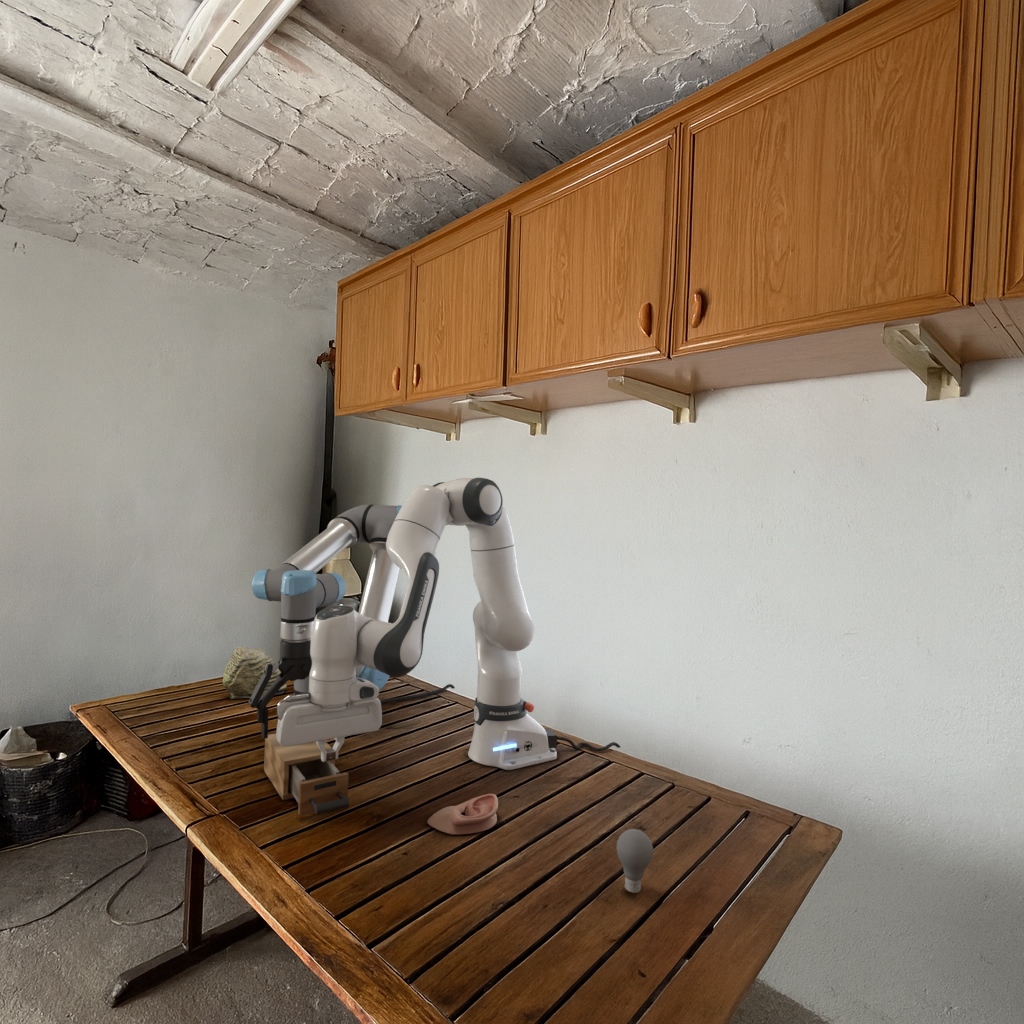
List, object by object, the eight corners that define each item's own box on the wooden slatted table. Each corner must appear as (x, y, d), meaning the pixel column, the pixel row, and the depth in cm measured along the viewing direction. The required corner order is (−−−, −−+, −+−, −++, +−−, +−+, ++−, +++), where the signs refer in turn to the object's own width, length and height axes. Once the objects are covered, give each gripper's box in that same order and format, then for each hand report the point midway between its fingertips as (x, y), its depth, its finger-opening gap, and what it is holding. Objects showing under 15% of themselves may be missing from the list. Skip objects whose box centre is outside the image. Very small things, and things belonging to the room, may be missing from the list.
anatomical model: (422, 809, 122) (441, 784, 133) (421, 830, 122) (440, 802, 133) (489, 819, 119) (502, 792, 130) (488, 840, 119) (502, 811, 130)
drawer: (357, 815, 125) (358, 784, 125) (307, 828, 119) (309, 795, 119) (323, 775, 142) (324, 748, 141) (279, 785, 136) (280, 756, 136)
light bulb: (610, 879, 108) (613, 822, 108) (644, 879, 109) (647, 822, 109) (619, 902, 102) (622, 840, 102) (655, 901, 103) (658, 840, 103)
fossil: (218, 695, 195) (220, 647, 195) (278, 685, 208) (279, 640, 207) (228, 703, 189) (230, 653, 188) (289, 692, 201) (290, 645, 201)
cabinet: (334, 788, 138) (335, 751, 137) (282, 800, 131) (284, 761, 131) (311, 761, 151) (312, 727, 151) (263, 770, 145) (265, 734, 145)
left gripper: (242, 648, 134) (240, 747, 135) (356, 636, 148) (354, 725, 149) (235, 641, 140) (233, 735, 141) (345, 629, 154) (343, 715, 155)
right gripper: (281, 701, 116) (279, 776, 116) (386, 687, 127) (383, 755, 128) (273, 692, 121) (270, 764, 121) (374, 679, 133) (371, 744, 133)
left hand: (295, 730), depth 145 cm, fingers open, 13 cm apart
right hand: (329, 759), depth 125 cm, fingers closed
